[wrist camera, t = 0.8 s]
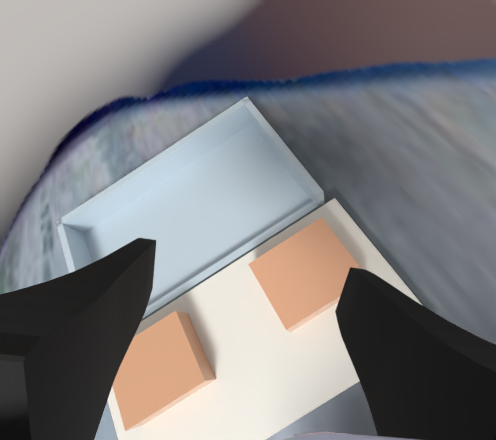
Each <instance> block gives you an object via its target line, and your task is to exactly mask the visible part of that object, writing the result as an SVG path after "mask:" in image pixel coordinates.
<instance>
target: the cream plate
mask: <svg viewBox="0 0 496 440" xmlns="http://www.w3.org/2000/svg"><path fill="white" fill-rule="evenodd" d="M321 217H322V218H323V219H324V220H325V222H326V223H327V224H328V226H329V227H330V228H331V230H332V231H333V232H334V234H335V235H336V236H337V237H338V239H339V240H340V241H341V243H342V244H343V245H344V247H345V248H346V249H347V251H348V252H349V253H350V254H351V256H352V257H353V258H354V260H355V261H356V262H357V264H358V265H359V266H360V268H361V269H366V270H368V271H370V272H372V273H373V274H375V275H377V276H378V277H380V278H382V279H383V280H385V281H386V282H388V283H389V284H391V285H392V286H394V287H395V288H397V289H398V290H400V291H401V292H402V293H404V294H405V295H407V296H408V297H410V298H411V299H413V300H415V301H416V302H418V303H419V304H421V303H420V302H419V300H418V299H417V298H416V297H415V296H414V294H413V293H412V292H411V291H410V289H409V288H408V287H407V286H406V285H405V283H404V282H403V281H402V280H401V278H400V277H399V276H398V275H397V274H396V272H395V271H394V270H393V269H392V267H391V266H390V265H389V264H388V263H387V261H386V260H385V259H384V258H383V256H382V255H381V254H380V253H379V252H378V250H377V249H376V248H375V247H374V245H373V244H372V243H371V242H370V241H369V239H368V238H367V237H366V236H365V234H364V233H363V232H362V231H361V230H360V228H359V227H358V226H357V225H356V223H355V222H354V221H353V220H352V218H351V217H350V216H349V215H348V214H347V212H346V211H345V210H344V209H343V207H342V206H341V205H340V204H339V203H338V201H337V200H336V199H335V198H334V199H332V200H331V201H329V202H328V203H326V204H325V205H323V206H321V207H320V208H318V209H317V210H315V211H314V212H312V213H310V214H309V215H307V216H306V217H304V218H303V219H301V220H299V221H298V222H296V223H295V224H293V225H292V226H290V227H289V228H287V229H285V230H284V231H282V232H281V233H279V234H278V235H276V236H274V237H273V238H271V239H270V240H268V241H267V242H265V243H264V244H262V245H260V246H259V247H257V248H256V249H254V250H253V251H251V252H249V253H248V254H246V255H245V256H243V257H242V258H240V259H239V260H237V261H235V262H234V263H232V264H231V265H229V266H228V267H226V268H224V269H223V270H221V271H220V272H218V273H217V274H215V275H214V276H212V277H210V278H209V279H207V280H206V281H204V282H203V283H201V284H199V285H198V286H196V287H195V288H193V289H192V290H190V291H188V292H187V293H185V294H184V295H182V296H181V297H179V298H178V299H176V300H174V301H173V302H171V303H170V304H168V305H167V306H165V307H163V308H162V309H160V310H159V311H157V312H156V313H154V314H153V315H151V316H149V317H148V318H146V319H145V320H143V321H142V322H140V325H139V327H138V329H137V331H136V333H135V335H134V337H135V336H136V335H138V334H139V333H141V332H143V331H144V330H146V329H147V328H149V327H150V326H152V325H154V324H155V323H157V322H158V321H160V320H161V319H163V318H165V317H166V316H168V315H169V314H171V313H172V312H174V311H179V312H183V313H187V314H188V315H189V317H190V320H191V322H192V324H193V326H194V329H195V331H196V333H197V336H198V338H199V340H200V343H201V345H202V347H203V349H204V352H205V354H206V356H207V359H208V361H209V363H210V366H211V368H212V370H213V372H214V375H215V377H216V380H214V381H213V382H211V383H209V384H208V385H206V386H205V387H203V388H201V389H200V390H198V391H197V392H195V393H194V394H192V395H190V396H189V397H187V398H186V399H184V400H182V401H181V402H179V403H178V404H176V405H174V406H173V407H171V408H170V409H168V410H166V411H165V412H163V413H162V414H160V415H159V416H157V417H155V418H154V419H152V420H151V421H149V422H147V423H146V424H144V425H142V426H139V427H136V428H133V429H130V430H127V431H125V429H124V425H123V421H122V418H121V414H120V411H119V407H118V404H117V400H116V397H115V393H114V390H113V386H112V388H111V391H110V394H109V397H108V403H109V407H110V410H111V414H112V418H113V422H114V425H115V429H116V433H117V436H118V440H265V439H267V438H269V437H270V436H272V435H273V434H275V433H277V432H278V431H280V430H281V429H283V428H285V427H286V426H288V425H290V424H291V423H293V422H294V421H296V420H298V419H299V418H301V417H302V416H304V415H306V414H307V413H309V412H311V411H312V410H314V409H315V408H317V407H319V406H320V405H322V404H323V403H325V402H327V401H328V400H330V399H332V398H333V397H335V396H336V395H338V394H340V393H341V392H343V391H344V390H346V389H348V388H349V387H351V386H353V385H354V384H356V383H357V382H359V381H360V380H359V378H358V376H357V373H356V371H355V368H354V366H353V364H352V361H351V359H350V356H349V354H348V352H347V349H346V347H345V344H344V342H343V339H342V337H341V333H340V330H339V326H338V322H337V317H336V313H335V310H336V307H337V304H338V303H337V304H335V305H333V306H332V307H330V308H329V309H327V310H326V311H324V312H322V313H321V314H319V315H318V316H316V317H314V318H313V319H311V320H310V321H308V322H306V323H305V324H303V325H302V326H300V327H298V328H297V329H295V330H294V331H292V332H290V331H287V330H286V329H285V327H284V325H283V324H282V322H281V320H280V319H279V317H278V315H277V313H276V312H275V310H274V308H273V306H272V305H271V303H270V301H269V299H268V298H267V296H266V294H265V292H264V291H263V289H262V287H261V285H260V284H259V282H258V280H257V279H256V277H255V275H254V273H253V272H252V270H251V268H250V266H249V265H248V264H249V263H251V262H252V261H254V260H255V259H257V258H259V257H260V256H262V255H263V254H265V253H266V252H268V251H269V250H271V249H273V248H274V247H276V246H277V245H279V244H280V243H282V242H284V241H285V240H287V239H288V238H290V237H291V236H293V235H295V234H296V233H298V232H299V231H301V230H302V229H304V228H305V227H307V226H309V225H310V224H312V223H313V222H315V221H316V220H318V219H320V218H321ZM421 305H422V304H421ZM422 306H423V305H422Z"/></svg>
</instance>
